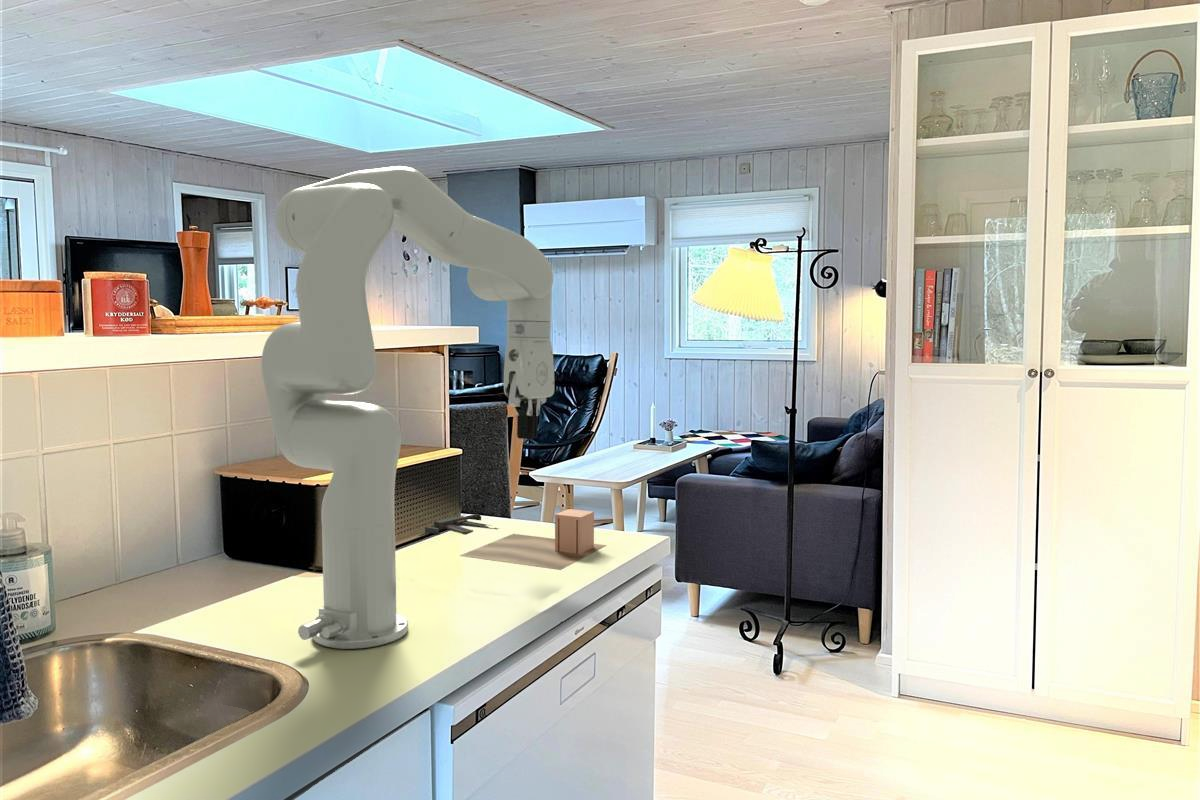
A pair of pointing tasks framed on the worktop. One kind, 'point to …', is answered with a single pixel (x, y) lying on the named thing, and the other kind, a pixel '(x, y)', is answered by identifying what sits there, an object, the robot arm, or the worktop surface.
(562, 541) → the salmon pink block
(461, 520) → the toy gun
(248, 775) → the worktop surface
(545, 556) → the board
